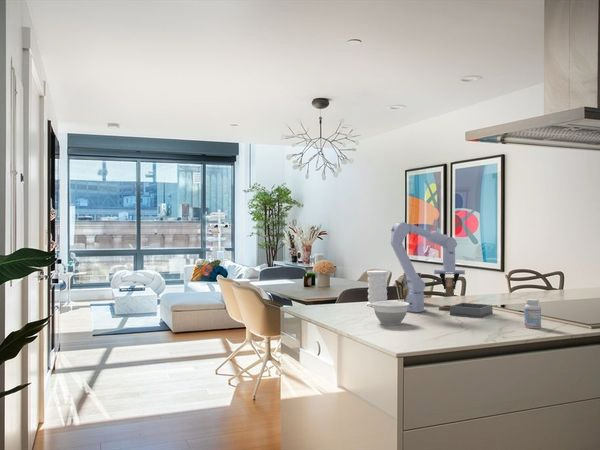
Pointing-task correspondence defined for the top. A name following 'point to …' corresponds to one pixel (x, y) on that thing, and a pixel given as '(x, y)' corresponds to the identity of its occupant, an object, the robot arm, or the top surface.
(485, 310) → the tray
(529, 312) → the pill bottle
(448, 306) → the collar holder
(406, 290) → the coffee box
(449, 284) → the dowel
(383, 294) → the decorative container
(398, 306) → the bowl
